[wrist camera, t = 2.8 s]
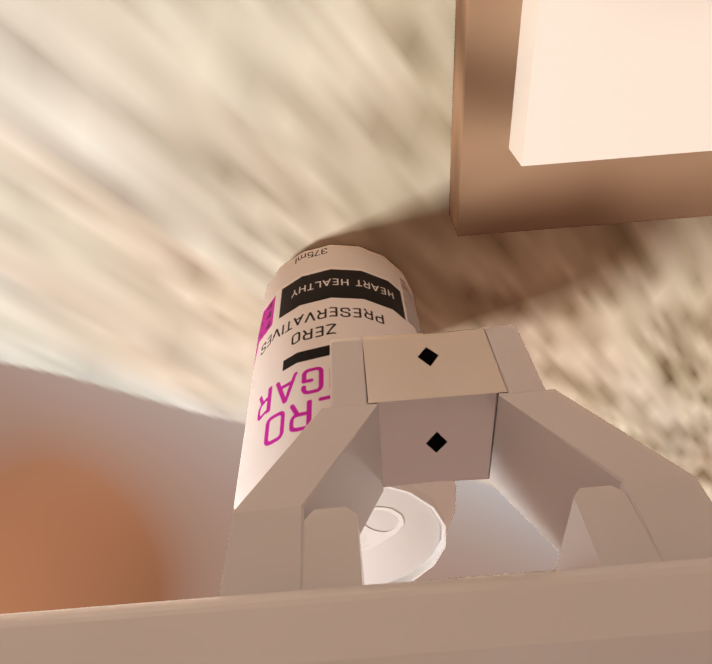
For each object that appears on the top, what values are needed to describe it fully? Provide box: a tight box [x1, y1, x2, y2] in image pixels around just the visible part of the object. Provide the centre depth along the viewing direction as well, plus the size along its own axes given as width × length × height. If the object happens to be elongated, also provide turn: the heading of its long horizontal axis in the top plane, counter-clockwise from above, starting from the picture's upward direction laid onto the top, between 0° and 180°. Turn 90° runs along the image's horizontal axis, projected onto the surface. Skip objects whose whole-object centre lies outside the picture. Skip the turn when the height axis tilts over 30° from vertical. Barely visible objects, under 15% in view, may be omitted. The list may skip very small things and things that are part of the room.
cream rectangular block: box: [509, 0, 712, 166], centre depth 22 cm, size 6×9×2 cm, turn 94°
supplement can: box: [234, 245, 456, 585], centre depth 26 cm, size 8×8×15 cm
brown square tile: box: [449, 0, 712, 236], centre depth 24 cm, size 14×13×2 cm
